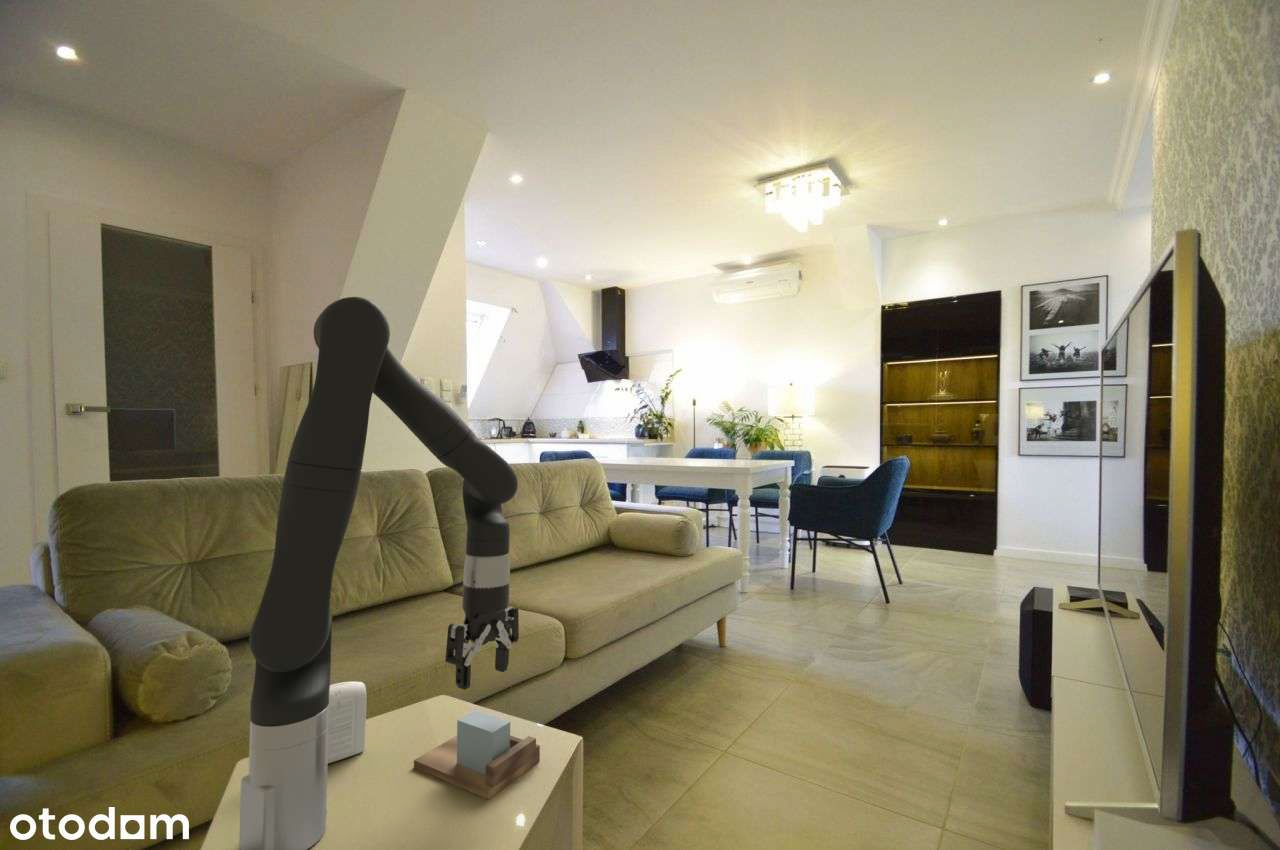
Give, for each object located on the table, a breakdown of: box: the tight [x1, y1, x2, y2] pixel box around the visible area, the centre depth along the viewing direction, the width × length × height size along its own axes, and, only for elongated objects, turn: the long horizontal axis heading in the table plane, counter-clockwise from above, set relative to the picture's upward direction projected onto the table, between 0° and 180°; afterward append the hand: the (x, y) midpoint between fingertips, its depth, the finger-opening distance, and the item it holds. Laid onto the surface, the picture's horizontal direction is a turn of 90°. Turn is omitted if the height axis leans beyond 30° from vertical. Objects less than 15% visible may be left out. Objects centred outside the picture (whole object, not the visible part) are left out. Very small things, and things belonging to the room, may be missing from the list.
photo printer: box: [327, 681, 367, 765], centre depth 96 cm, size 10×4×12 cm, turn 134°
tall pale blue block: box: [456, 710, 511, 775], centre depth 92 cm, size 4×8×7 cm, turn 60°
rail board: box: [413, 734, 541, 800], centre depth 94 cm, size 12×17×4 cm
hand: (483, 678), depth 93 cm, fingers open, 8 cm apart
